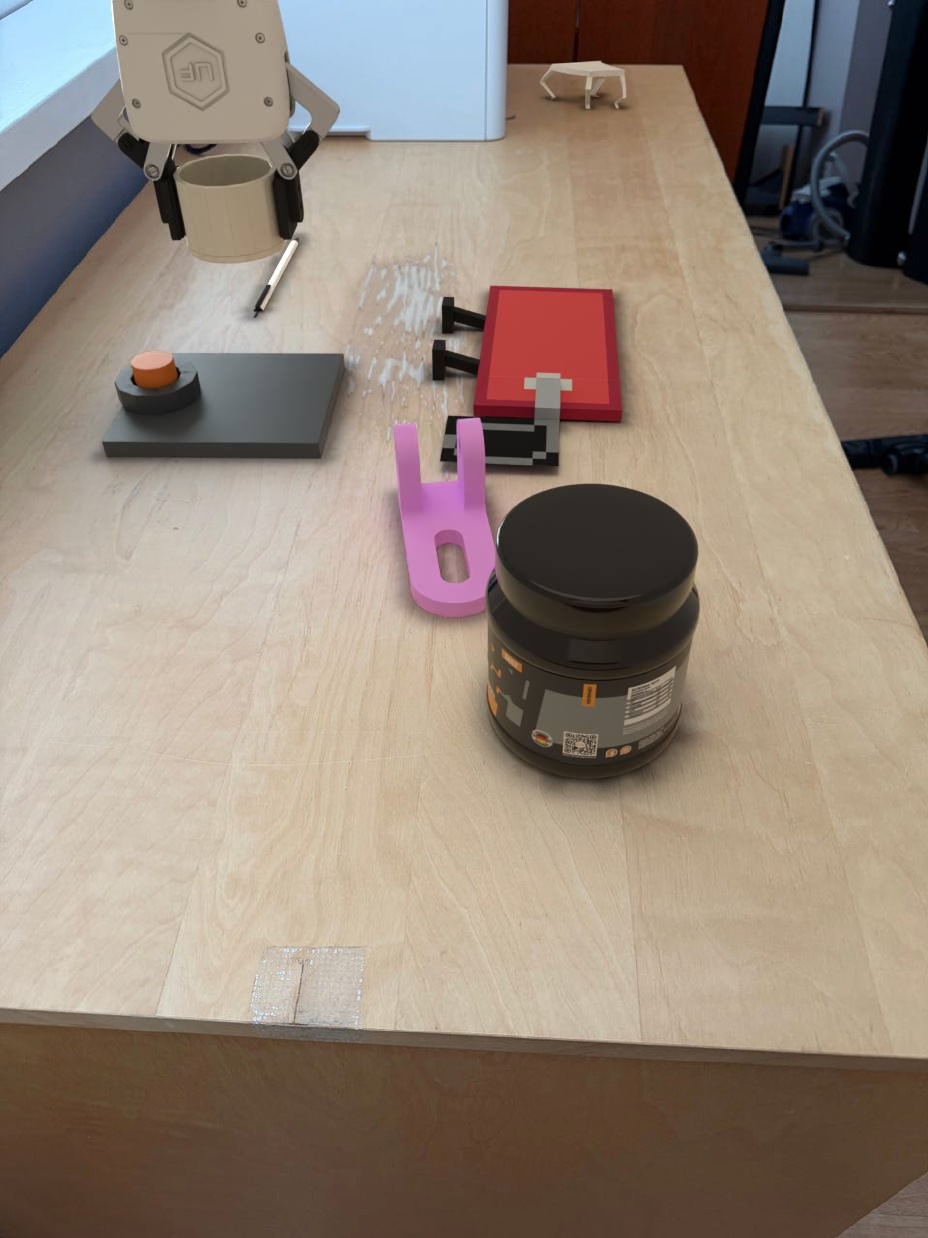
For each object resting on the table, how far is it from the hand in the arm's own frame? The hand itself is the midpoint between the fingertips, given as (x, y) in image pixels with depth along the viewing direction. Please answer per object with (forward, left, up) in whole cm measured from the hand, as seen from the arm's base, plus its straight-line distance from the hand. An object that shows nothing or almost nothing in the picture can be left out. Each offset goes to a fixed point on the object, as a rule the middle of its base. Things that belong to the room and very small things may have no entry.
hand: (235, 230), depth 72 cm
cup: (0, 0, -1) cm, 1 cm away
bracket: (+15, -18, -15) cm, 28 cm away
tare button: (-8, 0, -12) cm, 14 cm away
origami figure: (+28, +84, -15) cm, 90 cm away
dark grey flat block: (-3, 0, -15) cm, 15 cm away
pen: (-4, +26, -15) cm, 31 cm away
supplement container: (+23, -32, -15) cm, 42 cm away
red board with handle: (+20, +6, -15) cm, 26 cm away
